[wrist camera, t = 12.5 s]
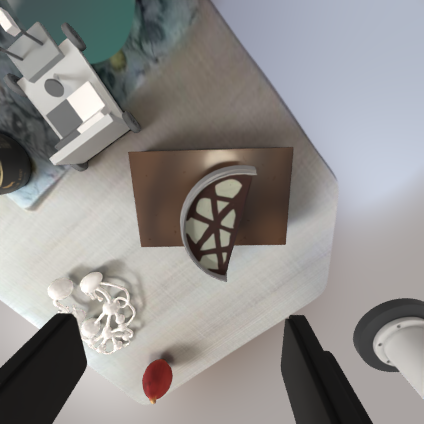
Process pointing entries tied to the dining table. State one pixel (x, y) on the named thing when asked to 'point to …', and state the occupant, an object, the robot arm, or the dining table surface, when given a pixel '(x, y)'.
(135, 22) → the dining table surface
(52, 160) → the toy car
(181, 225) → the food container
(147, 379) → the onion
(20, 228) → the dining table surface
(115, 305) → the tangled rod sculpture
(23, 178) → the jar
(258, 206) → the shelf
